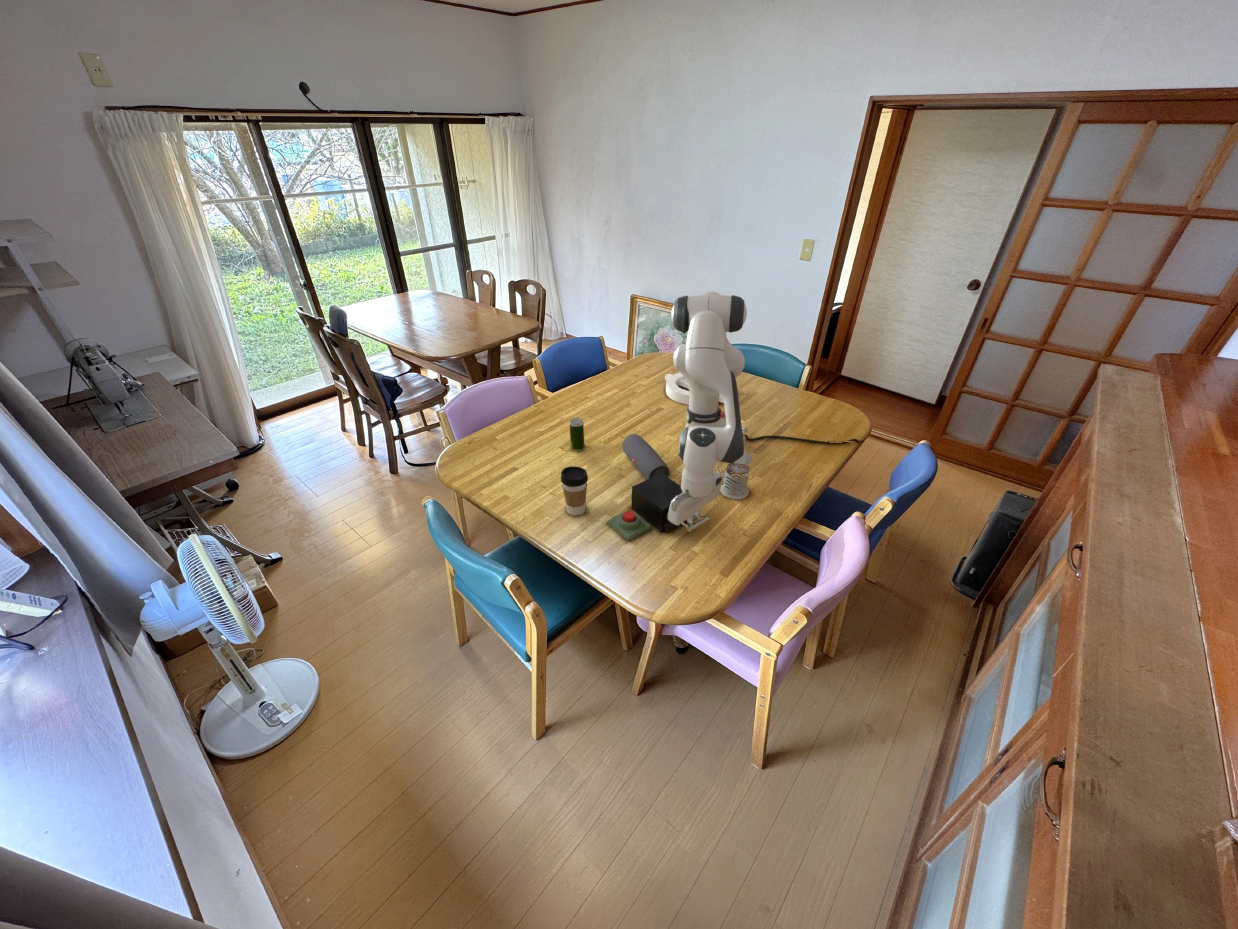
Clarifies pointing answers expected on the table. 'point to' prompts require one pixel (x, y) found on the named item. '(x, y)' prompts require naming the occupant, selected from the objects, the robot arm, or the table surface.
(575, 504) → the coffee cup
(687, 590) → the table surface
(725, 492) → the french press
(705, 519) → the black drawer
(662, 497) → the dark drawer cabinet
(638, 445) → the bluetooth speaker
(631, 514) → the stop button
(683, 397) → the white circle with bar
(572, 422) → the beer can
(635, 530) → the control block
